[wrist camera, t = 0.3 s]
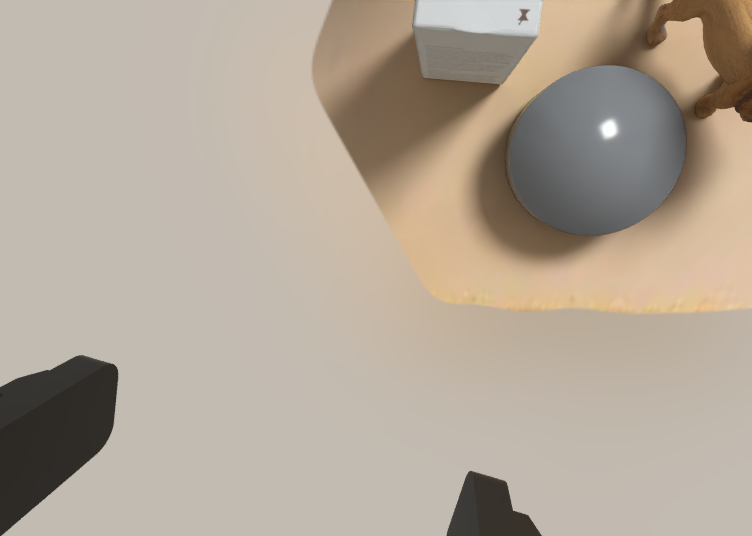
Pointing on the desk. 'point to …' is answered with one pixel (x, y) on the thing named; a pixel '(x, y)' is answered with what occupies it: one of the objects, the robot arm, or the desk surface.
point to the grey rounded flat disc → (596, 150)
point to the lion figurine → (718, 48)
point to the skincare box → (474, 37)
